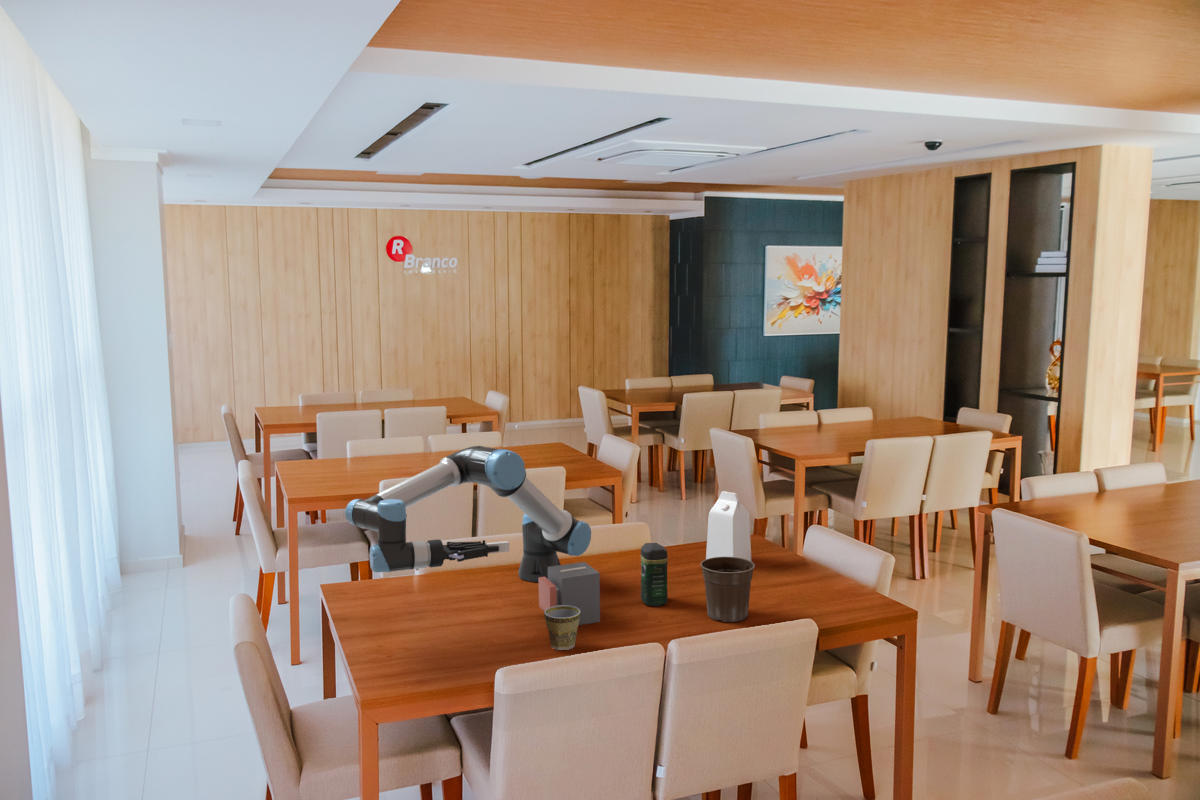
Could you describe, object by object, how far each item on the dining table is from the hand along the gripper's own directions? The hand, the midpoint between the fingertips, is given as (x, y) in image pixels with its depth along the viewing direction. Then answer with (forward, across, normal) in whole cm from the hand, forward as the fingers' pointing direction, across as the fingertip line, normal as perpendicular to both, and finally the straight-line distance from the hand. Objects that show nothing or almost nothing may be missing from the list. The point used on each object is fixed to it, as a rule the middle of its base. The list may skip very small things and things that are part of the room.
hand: (508, 546), depth 246 cm
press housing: (+21, +1, -24) cm, 32 cm away
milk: (+93, -25, -22) cm, 98 cm away
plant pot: (+63, +19, -23) cm, 70 cm away
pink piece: (+18, +1, -21) cm, 28 cm away
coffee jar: (+49, -1, -23) cm, 54 cm away
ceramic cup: (+10, +17, -25) cm, 32 cm away
